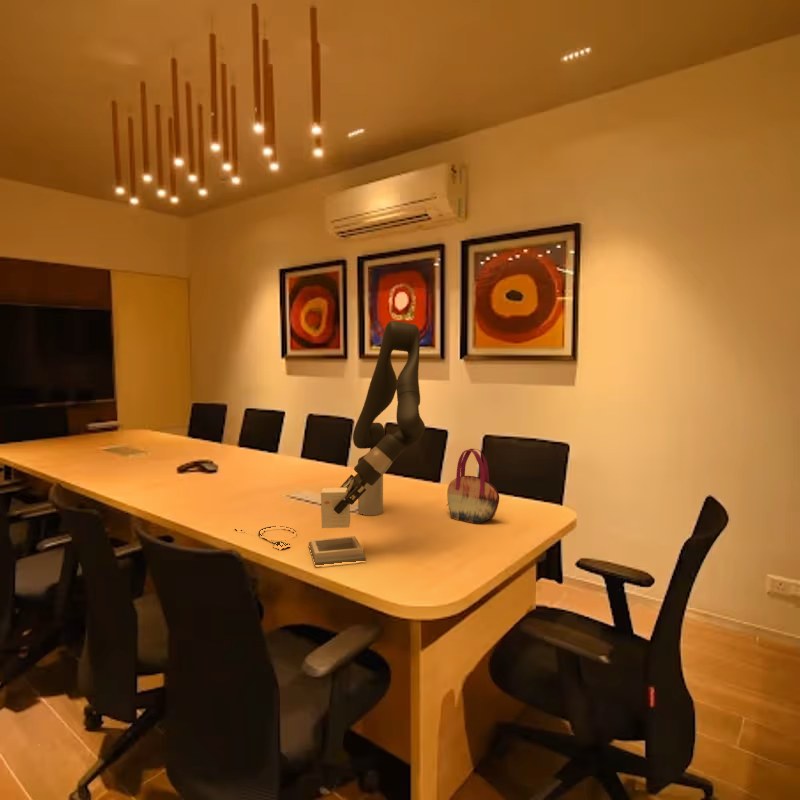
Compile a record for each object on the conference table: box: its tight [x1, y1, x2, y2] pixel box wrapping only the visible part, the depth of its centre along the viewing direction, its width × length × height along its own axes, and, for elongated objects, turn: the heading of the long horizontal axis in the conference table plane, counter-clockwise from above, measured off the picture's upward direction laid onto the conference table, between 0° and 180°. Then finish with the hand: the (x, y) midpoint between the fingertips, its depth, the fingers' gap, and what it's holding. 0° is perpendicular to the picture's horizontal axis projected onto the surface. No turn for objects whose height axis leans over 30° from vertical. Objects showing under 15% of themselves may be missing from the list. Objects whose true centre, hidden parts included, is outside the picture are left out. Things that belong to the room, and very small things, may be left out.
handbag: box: [445, 448, 500, 524], centre depth 190 cm, size 21×10×25 cm, turn 52°
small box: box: [320, 487, 351, 529], centre depth 155 cm, size 8×6×10 cm
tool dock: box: [308, 535, 367, 566], centre depth 155 cm, size 17×14×3 cm
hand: (334, 508), depth 154 cm, fingers closed on small box, 6 cm apart
